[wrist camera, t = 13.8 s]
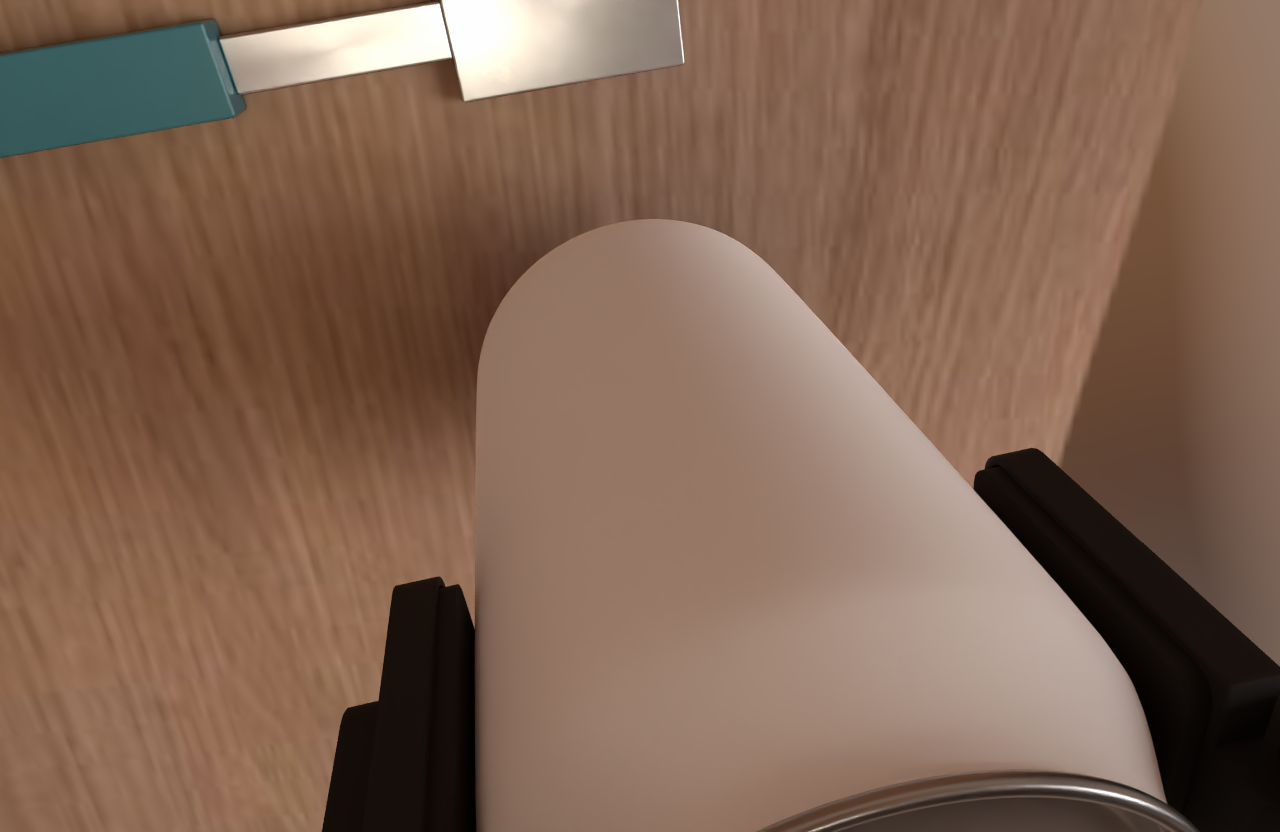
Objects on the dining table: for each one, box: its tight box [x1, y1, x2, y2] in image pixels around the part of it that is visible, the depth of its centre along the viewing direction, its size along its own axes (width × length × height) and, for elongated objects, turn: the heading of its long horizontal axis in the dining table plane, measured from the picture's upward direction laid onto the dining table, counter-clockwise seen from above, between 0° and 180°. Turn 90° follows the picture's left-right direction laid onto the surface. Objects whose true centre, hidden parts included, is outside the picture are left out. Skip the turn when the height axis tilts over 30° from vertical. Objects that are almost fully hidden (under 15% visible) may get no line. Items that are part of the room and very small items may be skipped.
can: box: [475, 219, 1200, 832], centre depth 12 cm, size 6×6×12 cm
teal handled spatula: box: [0, 0, 685, 158], centre depth 16 cm, size 15×3×1 cm, turn 98°
